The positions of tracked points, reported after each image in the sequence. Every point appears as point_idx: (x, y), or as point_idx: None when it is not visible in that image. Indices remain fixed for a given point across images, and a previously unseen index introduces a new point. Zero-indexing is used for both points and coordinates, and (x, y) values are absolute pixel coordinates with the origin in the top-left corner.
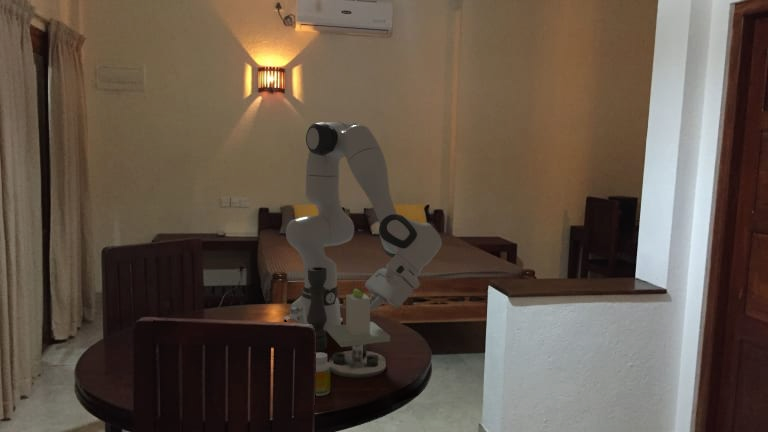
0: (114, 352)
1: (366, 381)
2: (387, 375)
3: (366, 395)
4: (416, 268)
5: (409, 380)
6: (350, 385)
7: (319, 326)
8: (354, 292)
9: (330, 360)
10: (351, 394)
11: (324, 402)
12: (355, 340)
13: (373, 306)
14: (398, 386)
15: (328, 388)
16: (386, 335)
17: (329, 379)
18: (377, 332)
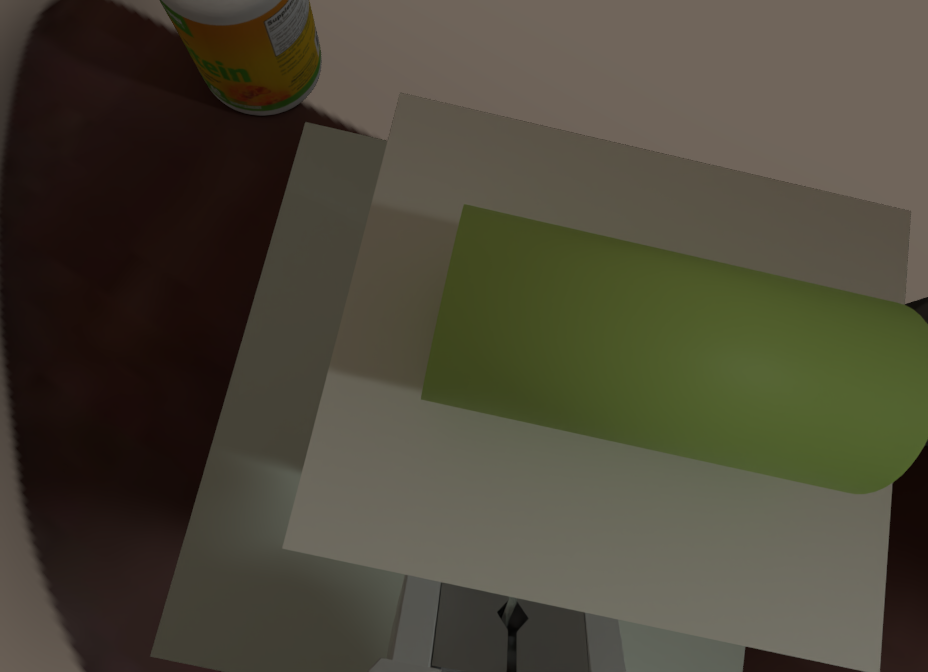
0: None
1: (231, 361)
2: None
3: (59, 252)
4: None
5: (68, 625)
6: (238, 248)
7: None
8: (726, 264)
9: None
10: (126, 189)
11: (131, 26)
12: (268, 256)
13: (387, 657)
14: (38, 496)
15: (199, 71)
16: (190, 626)
17: (189, 50)
18: (341, 593)
